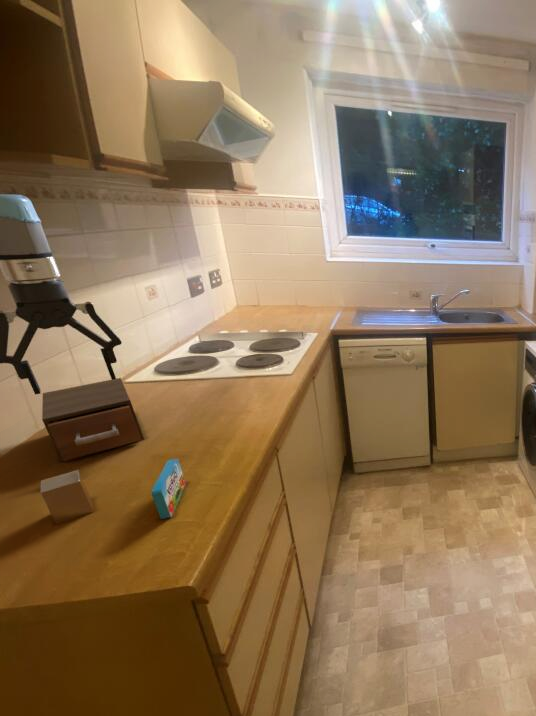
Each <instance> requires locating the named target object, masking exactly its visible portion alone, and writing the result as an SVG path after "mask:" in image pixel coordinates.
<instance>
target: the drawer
mask: <svg viewBox="0 0 536 716" xmlns="http://www.w3.org/2000/svg"><path fill="white" fill-rule="evenodd" d="M48 428H49V430H50V432H51V434H52V436H53V439H54V441H55V443H56V445H57V447H58V450H59V452H60V454H61V456H62V458H63V462H68V461H70V460H74V459H77V458H81V456H82V457H85V456H89V455H93V454H96V453H100V452H103V451H106V450H107V451H108V450H111V449H114V448H118V447H121V445H122V446H125V445H129V444H133V443H135V442H140V441H142V440H141V438H140V435H139V432H138V429H137V427H136V424H135V421H134V418H133V416H132V413H131V410H130V407H129V406H125V407H124V405H121V406H116V407H112V408H107V409H103V410H99V411H94V412H90V413H85V414H81V415H77V416H72V417H68V418H63V419H59V420H55V421H53V423H51V424H48ZM132 442H133V443H132ZM92 453H93V454H92Z"/></svg>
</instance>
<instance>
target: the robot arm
mask: <svg viewBox="0 0 536 716" xmlns="http://www.w3.org/2000/svg"><path fill="white" fill-rule="evenodd" d="M0 271H1V273H2V276H3V278H4V280H5V281H8V282H10V283H8V285H7V287H8V290H9V292H10V294H11V297H12V299H13V302H14V303H15V308H16V309H15V310H6V311H4V310H0V365H1V364H9V365H12V366H13V368H14V370H15V373H16V375H17V377H18V378H19V379H20V380H27V379H28V382H29V384H30V387H31V388H32V391H33V393H34V395H40V394H41V387H40V385H39V383H38V380H37V379H36V376H35V373H34V372H33V369H32V368H31V365H30V362H29V360H23V358H24V357H25V354H26V352H27V350H28V349H29V347H30V345H31V342H32V340H33V338H34V337H35V334H36V332H37V331H38V329H42V330H48V329H52V328H65V326H66V327H67V326H69V327H71V328H72V329H74V330H76V331H78V333H80V334H82V335H84V336H85V337H87V338H88V339H90V340H91V341H93V342H95V343H96V344H97V345H99V346H100V347H102V348H100V353H101V354H102V357H103V361H104V363H105V365H106V368H107V371H108V374H109V376H110V380H112V379H117V377H116V374H115V371H114V369H113V366H112V364H116V363H117V362H118V361H117V360H118V359H117V357H116V354H115V351H114V348H115V347H118V346H121V345H122V340H121V338H120V337H119V336H118V335H117V334H116V333H115V332H114V331H113V329H111V328H110V326H109V325H108V324H107V323H106V321H104V320H103V318H101V316H100V315H99V314H98V313H97V311H96V309H95V307H94V304H93V303H92V302H91V301H85V302H84V303H74V302H73V301H72V300H71V299H70V297H69V294H68V291H67V288H66V286H65V283H64V281H63V280H61V279H58V278H60V277H61V273H60V270H59V267H58V265H57V262H56V259H55V257H54V255H53V252H52V251H51V248H50V244H49V242H48V239H47V236H46V234H45V230H44V228H43V225H42V220H41V219H40V218H39V216H38V213H37V211H36V209H35V206H34V205H33V202H32V200H30V198H29V197H27V196H25V195H22V194H4V193H3V194H2V193H0ZM77 311H81V313H82V314H85V315H88V316H89V317H90V319H91V320H92V321H93V322H94V323H95V324H96V325H97V326H98V328H99V329H100V330H101V331H102V332H103V333H104V334H105V335H106V336H107V337H108V338H109V339H110V340H109V341H108V340H106V339H105V338H103V337H102V336H100V335H98V333H96V332H94V331H93V330H92V329H90V328H88V327H87V326H86V325H84V324H83V323H81V322H80V321H78V320H77V319H76V318H74V315H75V314H76V312H77ZM16 317H18V318H19V319H21V320H23V321H25V322H27V323H28V325H27V326H26V329H25V331H24V333H23V334H22V336H21V339H20V341H19V343H18V345H17V347H16V349H15V351H14V353H13V354H12V355H8V347H9V335H10V323H11V324H12V323H13V322H14V321H15V318H16Z"/></svg>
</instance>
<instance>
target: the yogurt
mask: <svg viewBox="0 0 536 716" xmlns="http://www.w3.org/2000/svg"><path fill="white" fill-rule="evenodd" d="M186 482H187V481H186V479H185V476H184V472H183V470H182V467H181V464H180V461H179V458H173V459H168V460H167V461H166V463H165V465H164V467H163V469H162V471H161V473H160V475H159V476H158V478H157V481H156V483H155V484H154V486H153V488H152V490H151V496H152V499H153V501H154V504H155V507H156V510H157V512H158V515H159V517H160V520H165V519H169V518H172V517H173V515H174V514H175V510H176V507H177V505H178V503H179V501H180V498H181V495H182V493H183V491H184V489H185V486H186Z"/></svg>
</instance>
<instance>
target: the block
mask: <svg viewBox="0 0 536 716" xmlns="http://www.w3.org/2000/svg"><path fill="white" fill-rule="evenodd" d="M40 494H41V497H42V499H43V500H44V503H45V504H46V507H47V509H48V510H49V513H50V515H51V517H52V519H53V520H54V523H55V525H59V524H62V523H65V522H67V521H70V520H73V519H76V518H80V517H82V516H86V515H88V514H92V513H93V512H94V508H93V501H92V497H91V495H90V493H89V490H88V489H87V487H86V485H85V481H84V480H83V478H82V475H81V473H80V471H79V469H77V470H73V471H70V472H66V473H62V474H58V475H56V476H55V475H54V476H52V477H49V478H45V479H41V480H40Z"/></svg>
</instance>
